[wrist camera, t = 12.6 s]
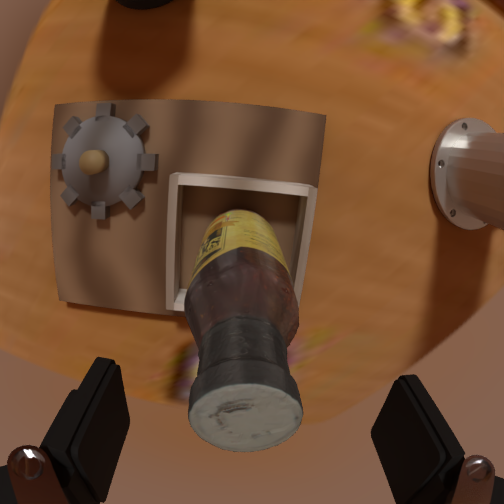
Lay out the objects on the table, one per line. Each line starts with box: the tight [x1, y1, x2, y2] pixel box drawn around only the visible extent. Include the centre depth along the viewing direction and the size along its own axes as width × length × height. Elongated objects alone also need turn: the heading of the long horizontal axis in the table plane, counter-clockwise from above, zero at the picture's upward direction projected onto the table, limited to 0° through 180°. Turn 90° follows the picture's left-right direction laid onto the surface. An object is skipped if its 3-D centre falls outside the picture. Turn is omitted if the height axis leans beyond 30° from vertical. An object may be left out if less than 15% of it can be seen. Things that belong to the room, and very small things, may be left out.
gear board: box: [50, 99, 326, 317], centre depth 27 cm, size 25×20×5 cm
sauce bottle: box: [184, 208, 303, 452], centre depth 19 cm, size 6×6×20 cm
